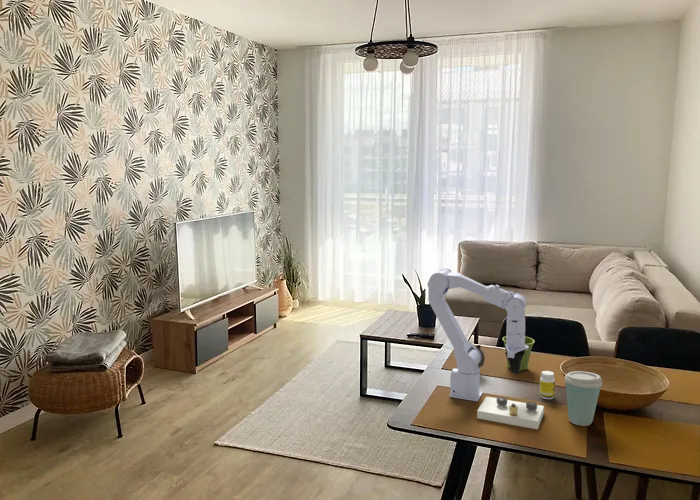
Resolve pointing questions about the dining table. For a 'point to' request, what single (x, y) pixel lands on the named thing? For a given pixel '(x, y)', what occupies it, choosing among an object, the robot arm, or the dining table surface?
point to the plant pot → (526, 356)
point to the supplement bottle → (547, 385)
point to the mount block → (501, 414)
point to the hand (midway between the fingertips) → (515, 372)
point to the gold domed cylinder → (513, 410)
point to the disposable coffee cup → (582, 396)
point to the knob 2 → (531, 406)
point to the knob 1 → (501, 402)
